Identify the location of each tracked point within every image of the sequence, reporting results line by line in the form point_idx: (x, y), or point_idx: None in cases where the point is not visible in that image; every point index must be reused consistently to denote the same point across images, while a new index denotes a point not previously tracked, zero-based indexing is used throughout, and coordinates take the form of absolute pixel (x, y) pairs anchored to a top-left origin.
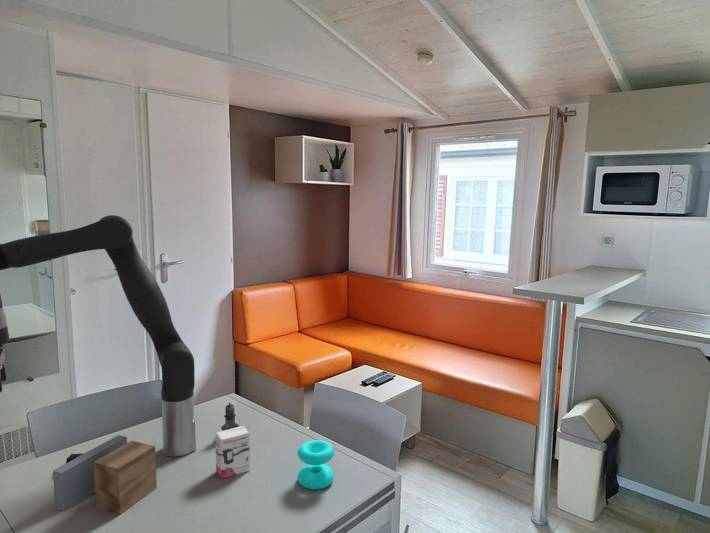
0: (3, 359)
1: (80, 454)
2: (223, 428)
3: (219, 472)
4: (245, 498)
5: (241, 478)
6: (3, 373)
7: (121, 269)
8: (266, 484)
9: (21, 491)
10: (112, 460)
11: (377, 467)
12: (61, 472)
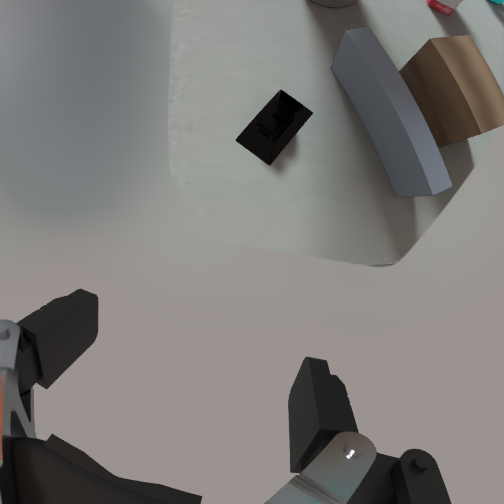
0: (7, 403)
1: (274, 106)
2: None
3: (445, 9)
4: (492, 36)
5: None
6: (65, 323)
7: None
8: (476, 7)
9: (292, 228)
10: (489, 107)
11: None
12: (450, 185)
